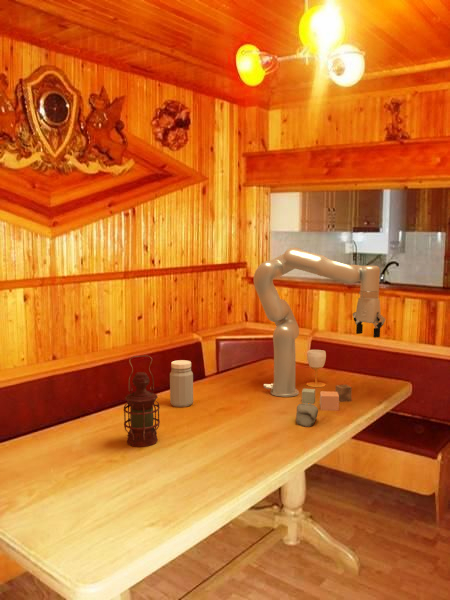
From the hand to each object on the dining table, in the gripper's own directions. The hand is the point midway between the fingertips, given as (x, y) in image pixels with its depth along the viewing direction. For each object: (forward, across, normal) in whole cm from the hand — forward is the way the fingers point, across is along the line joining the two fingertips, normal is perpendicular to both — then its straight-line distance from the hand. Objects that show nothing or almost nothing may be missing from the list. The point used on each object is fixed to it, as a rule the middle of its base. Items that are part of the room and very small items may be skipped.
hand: (367, 335), depth 237 cm
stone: (+29, +8, -40) cm, 50 cm away
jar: (+29, -38, -68) cm, 84 cm away
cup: (+29, -30, -1) cm, 42 cm away
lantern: (+29, -7, -100) cm, 105 cm away
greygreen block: (+28, -12, -22) cm, 38 cm away
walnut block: (+28, -5, -8) cm, 30 cm away
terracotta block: (+28, 0, -20) cm, 35 cm away
